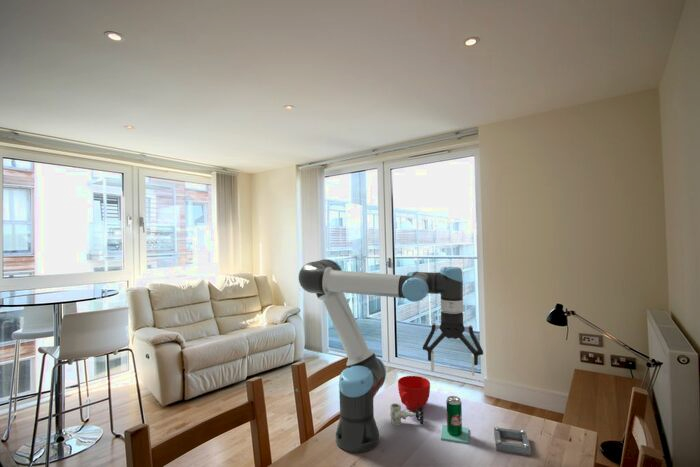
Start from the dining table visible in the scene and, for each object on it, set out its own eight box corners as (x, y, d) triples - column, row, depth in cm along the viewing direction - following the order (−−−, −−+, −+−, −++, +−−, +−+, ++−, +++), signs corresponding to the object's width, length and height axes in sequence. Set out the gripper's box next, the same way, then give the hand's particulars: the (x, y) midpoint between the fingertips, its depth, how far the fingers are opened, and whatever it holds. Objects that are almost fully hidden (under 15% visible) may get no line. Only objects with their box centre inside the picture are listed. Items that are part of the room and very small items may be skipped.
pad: (440, 439, 122) (440, 438, 122) (442, 426, 131) (442, 424, 131) (468, 443, 120) (468, 442, 120) (468, 429, 128) (468, 428, 128)
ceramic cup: (387, 412, 142) (387, 387, 142) (407, 396, 155) (406, 373, 155) (418, 422, 134) (417, 395, 134) (435, 404, 148) (435, 379, 148)
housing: (496, 450, 115) (496, 441, 115) (494, 434, 125) (493, 425, 125) (530, 455, 112) (530, 446, 112) (525, 438, 122) (525, 429, 122)
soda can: (452, 438, 122) (451, 402, 122) (444, 430, 127) (443, 396, 127) (465, 435, 124) (464, 400, 124) (456, 427, 128) (456, 394, 128)
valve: (390, 427, 131) (423, 428, 130) (390, 409, 131) (423, 410, 130) (390, 418, 137) (421, 419, 136) (389, 401, 137) (421, 401, 136)
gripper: (414, 311, 126) (415, 372, 126) (490, 315, 118) (491, 380, 118) (417, 307, 133) (417, 364, 133) (489, 311, 125) (490, 371, 125)
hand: (452, 372), depth 125 cm, fingers open, 13 cm apart
